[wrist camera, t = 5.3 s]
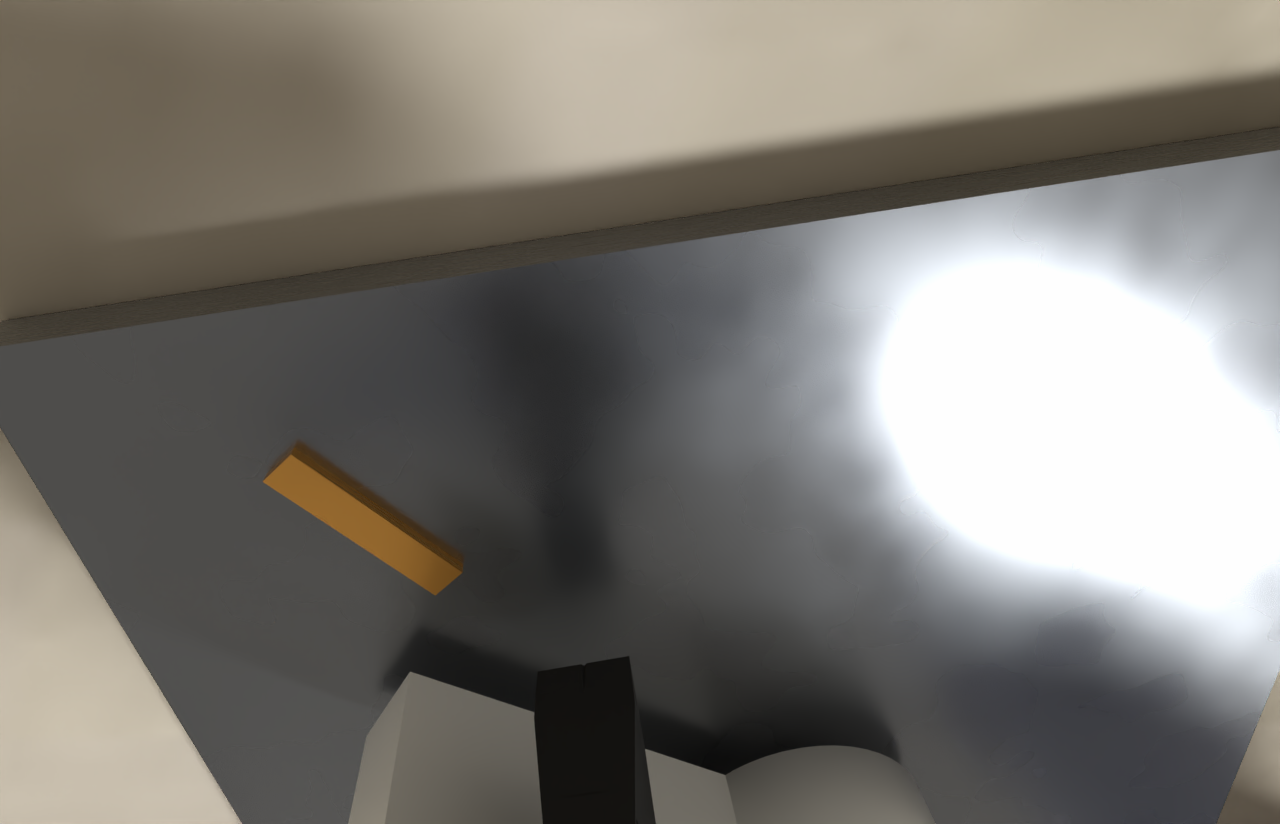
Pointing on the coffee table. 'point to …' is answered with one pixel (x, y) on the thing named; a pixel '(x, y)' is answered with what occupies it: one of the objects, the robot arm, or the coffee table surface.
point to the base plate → (720, 485)
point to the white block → (681, 792)
